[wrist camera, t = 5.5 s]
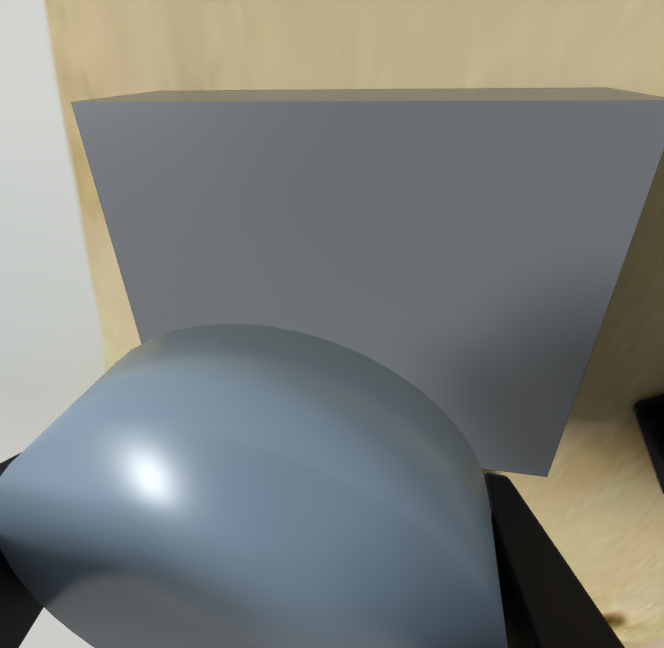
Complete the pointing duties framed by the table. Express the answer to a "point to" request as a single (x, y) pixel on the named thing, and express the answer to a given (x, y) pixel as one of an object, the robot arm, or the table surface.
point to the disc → (255, 503)
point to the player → (389, 231)
